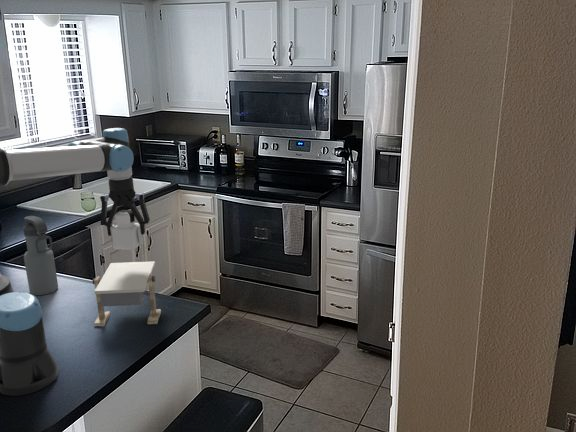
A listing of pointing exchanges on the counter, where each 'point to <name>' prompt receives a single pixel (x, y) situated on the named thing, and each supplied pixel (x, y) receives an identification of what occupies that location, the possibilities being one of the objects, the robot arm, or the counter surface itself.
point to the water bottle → (39, 258)
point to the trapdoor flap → (124, 283)
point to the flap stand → (104, 316)
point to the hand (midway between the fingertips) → (127, 243)
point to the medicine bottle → (125, 231)
